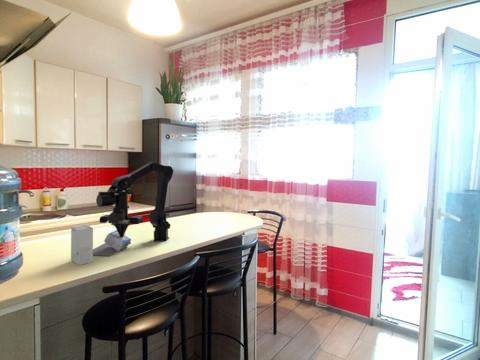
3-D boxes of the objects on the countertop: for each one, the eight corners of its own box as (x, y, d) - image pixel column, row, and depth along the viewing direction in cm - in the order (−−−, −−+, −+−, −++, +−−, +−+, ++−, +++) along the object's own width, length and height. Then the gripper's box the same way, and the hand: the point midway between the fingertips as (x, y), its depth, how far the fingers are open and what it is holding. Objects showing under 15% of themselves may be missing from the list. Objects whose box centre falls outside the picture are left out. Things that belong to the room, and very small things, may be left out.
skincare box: (70, 261, 119) (69, 226, 118) (86, 257, 124) (84, 223, 123) (78, 266, 114) (77, 229, 113) (94, 261, 118) (93, 226, 117)
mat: (131, 243, 145) (131, 242, 145) (109, 256, 125) (109, 255, 125) (108, 242, 146) (108, 241, 146) (83, 255, 126) (83, 254, 126)
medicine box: (123, 243, 131) (108, 233, 131) (118, 251, 131) (103, 241, 132) (131, 239, 138) (117, 229, 139) (127, 246, 139) (112, 237, 140)
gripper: (91, 206, 126) (92, 241, 127) (132, 208, 125) (132, 243, 126) (105, 203, 137) (106, 234, 138) (143, 204, 136) (143, 236, 137)
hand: (121, 237), depth 135 cm, fingers closed
